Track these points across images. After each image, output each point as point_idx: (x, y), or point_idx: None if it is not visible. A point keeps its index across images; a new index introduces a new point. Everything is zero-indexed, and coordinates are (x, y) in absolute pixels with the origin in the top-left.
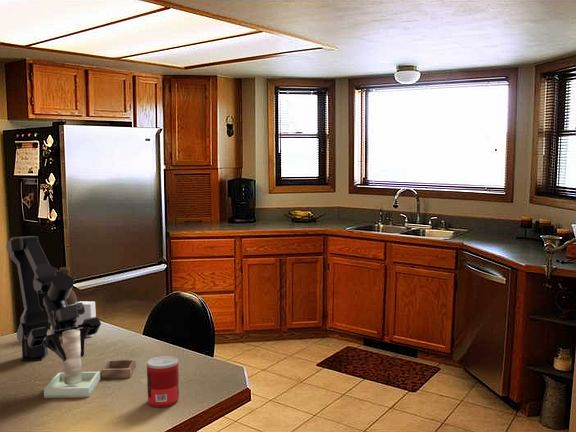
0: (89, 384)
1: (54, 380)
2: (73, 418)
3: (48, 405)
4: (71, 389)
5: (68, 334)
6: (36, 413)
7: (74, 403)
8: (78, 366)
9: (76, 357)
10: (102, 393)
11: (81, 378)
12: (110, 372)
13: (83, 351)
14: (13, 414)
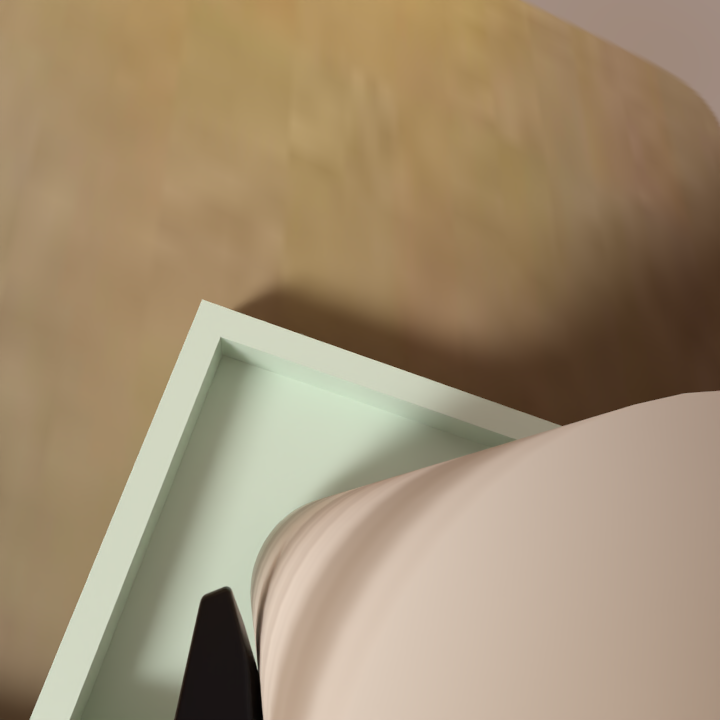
0: (185, 384)
1: None
2: (339, 21)
3: (510, 296)
4: (358, 359)
5: None
6: (573, 199)
7: (327, 250)
8: (297, 517)
9: (341, 495)
10: (82, 358)
11: (254, 567)
12: None
13: (201, 645)
14: (709, 247)
